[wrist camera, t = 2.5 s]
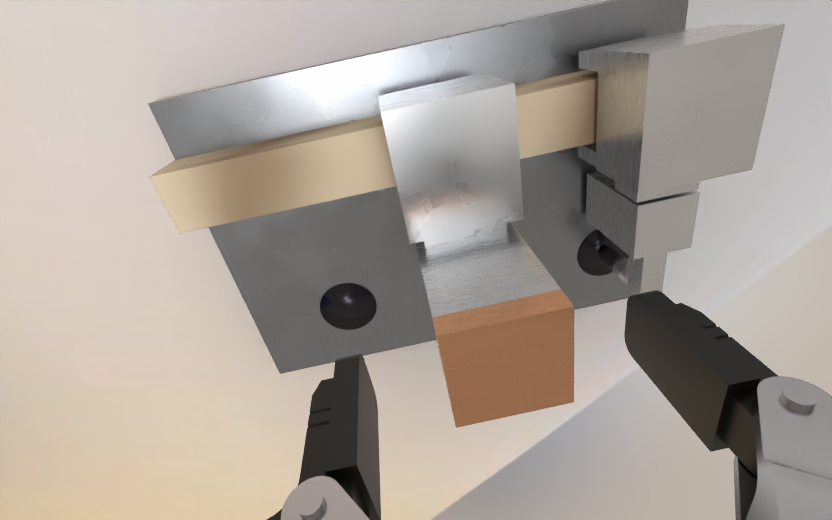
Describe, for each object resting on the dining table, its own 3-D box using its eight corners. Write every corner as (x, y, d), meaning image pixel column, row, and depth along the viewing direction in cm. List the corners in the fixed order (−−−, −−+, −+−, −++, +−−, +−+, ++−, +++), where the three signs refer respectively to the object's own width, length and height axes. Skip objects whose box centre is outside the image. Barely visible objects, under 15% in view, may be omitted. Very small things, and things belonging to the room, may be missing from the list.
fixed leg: (666, 26, 17) (784, 23, 12) (644, 253, 22) (719, 312, 17) (569, 48, 17) (649, 53, 12) (570, 269, 22) (626, 333, 17)
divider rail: (682, 48, 17) (725, 50, 15) (675, 107, 19) (714, 116, 16) (175, 159, 17) (149, 176, 15) (200, 211, 19) (179, 233, 17)
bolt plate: (673, -14, 17) (690, -16, 16) (643, 283, 24) (654, 292, 24) (159, 100, 17) (147, 103, 16) (283, 361, 25) (279, 374, 24)
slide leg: (473, 69, 17) (584, 105, 8) (497, 285, 22) (579, 447, 13) (377, 90, 17) (386, 149, 8) (424, 301, 22) (459, 472, 13)
